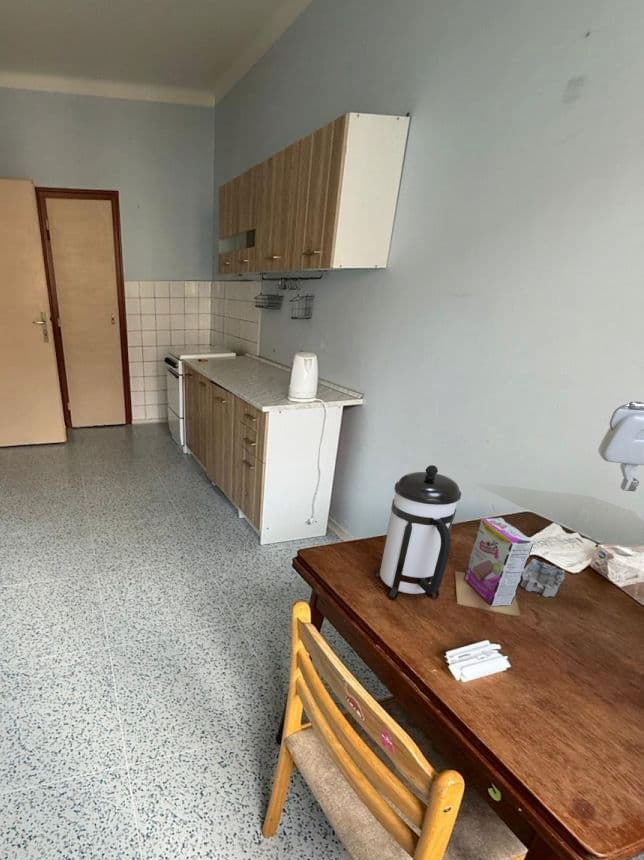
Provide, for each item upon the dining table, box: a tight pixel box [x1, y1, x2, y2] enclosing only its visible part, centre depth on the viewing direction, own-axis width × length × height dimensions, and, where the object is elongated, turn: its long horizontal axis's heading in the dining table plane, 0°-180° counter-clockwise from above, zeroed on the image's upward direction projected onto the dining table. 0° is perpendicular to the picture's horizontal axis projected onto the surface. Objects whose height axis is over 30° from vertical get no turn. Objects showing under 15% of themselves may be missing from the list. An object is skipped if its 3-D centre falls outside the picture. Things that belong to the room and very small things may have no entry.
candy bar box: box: [464, 517, 535, 606], centre depth 104 cm, size 11×5×16 cm, turn 3°
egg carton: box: [520, 558, 566, 598], centre depth 110 cm, size 11×8×4 cm
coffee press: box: [373, 465, 462, 601], centre depth 103 cm, size 17×16×30 cm
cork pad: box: [454, 570, 521, 618], centre depth 108 cm, size 12×14×1 cm
